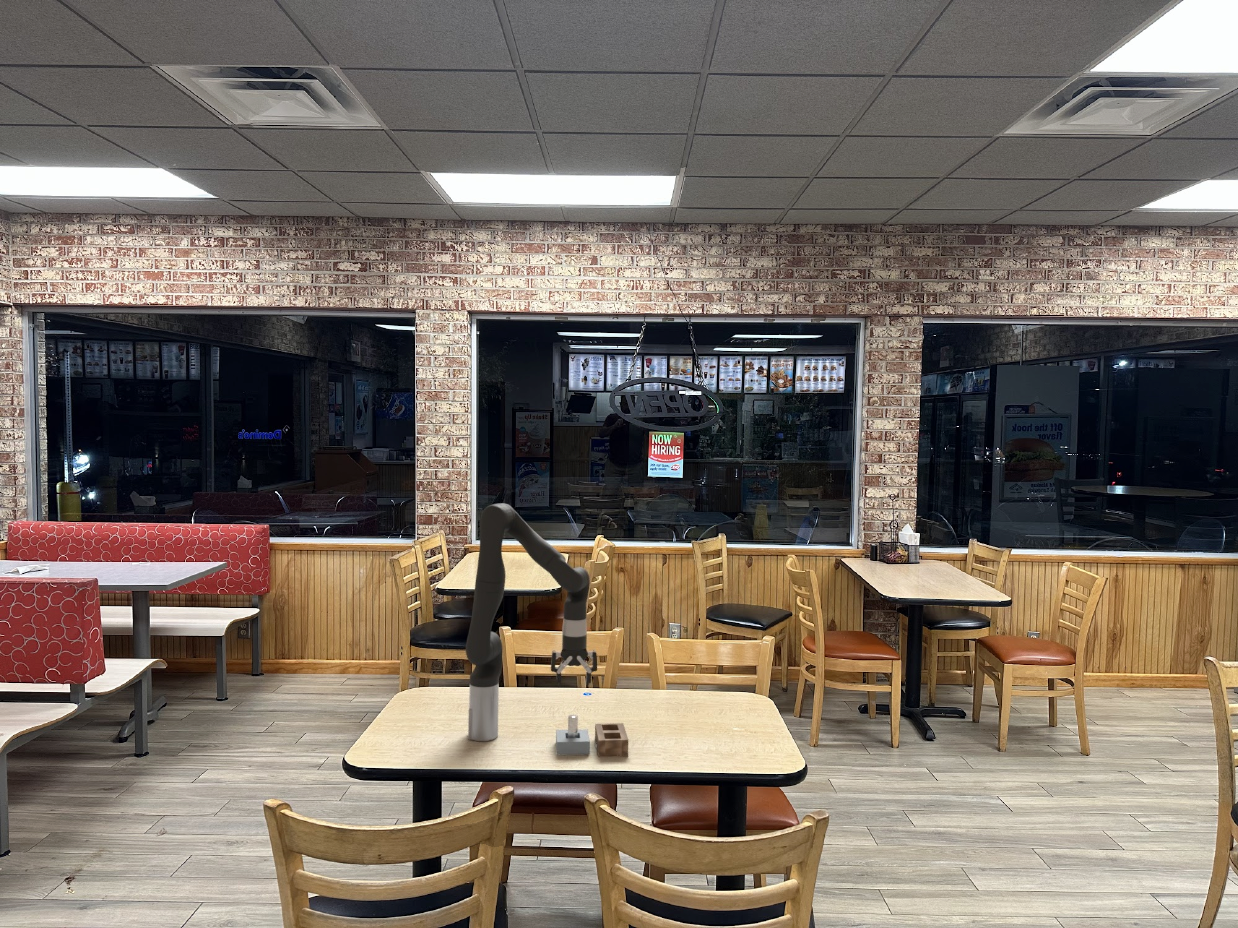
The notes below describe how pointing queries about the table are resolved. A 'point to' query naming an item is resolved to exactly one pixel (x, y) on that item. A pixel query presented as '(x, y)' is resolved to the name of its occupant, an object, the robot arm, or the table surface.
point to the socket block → (572, 743)
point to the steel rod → (572, 726)
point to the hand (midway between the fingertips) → (573, 684)
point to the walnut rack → (611, 740)
